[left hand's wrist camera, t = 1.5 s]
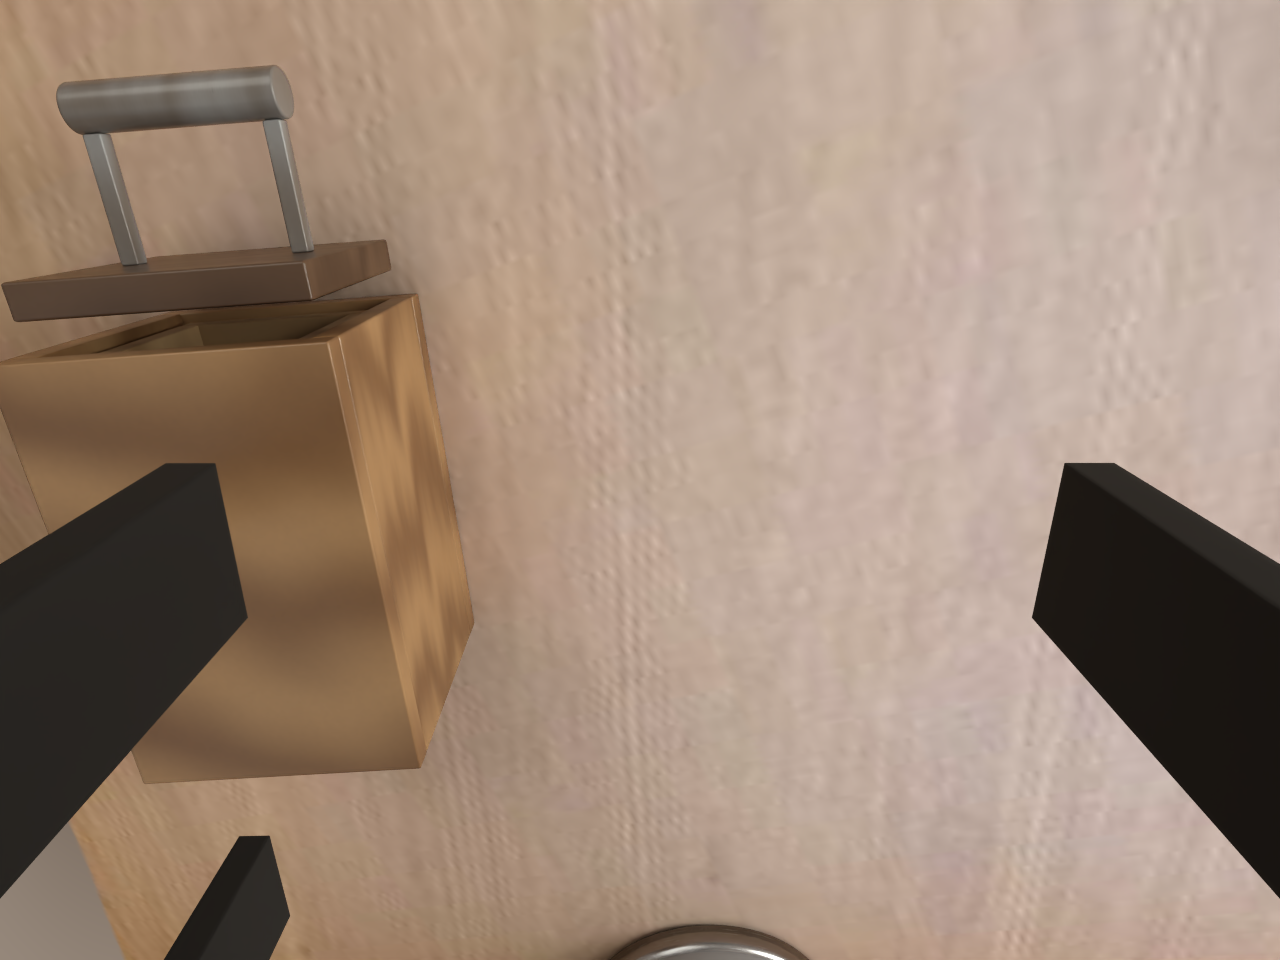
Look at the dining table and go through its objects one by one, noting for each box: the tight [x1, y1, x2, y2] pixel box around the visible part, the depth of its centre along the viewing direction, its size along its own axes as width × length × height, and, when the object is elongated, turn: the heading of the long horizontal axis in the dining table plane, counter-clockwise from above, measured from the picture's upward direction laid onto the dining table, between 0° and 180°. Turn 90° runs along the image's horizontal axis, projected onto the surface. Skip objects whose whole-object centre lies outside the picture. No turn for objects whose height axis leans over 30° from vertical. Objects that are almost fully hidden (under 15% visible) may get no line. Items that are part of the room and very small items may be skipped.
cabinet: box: [0, 294, 474, 784], centre depth 31 cm, size 16×11×10 cm, turn 4°
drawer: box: [2, 65, 391, 353], centre depth 29 cm, size 21×9×8 cm, turn 4°
